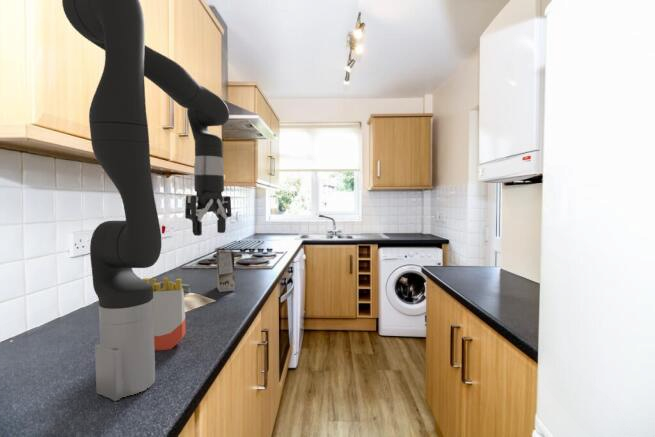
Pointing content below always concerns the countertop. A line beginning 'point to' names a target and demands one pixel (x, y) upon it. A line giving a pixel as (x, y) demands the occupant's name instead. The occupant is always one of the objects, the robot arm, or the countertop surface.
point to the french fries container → (168, 313)
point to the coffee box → (225, 270)
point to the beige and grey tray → (192, 298)
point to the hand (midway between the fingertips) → (210, 234)
